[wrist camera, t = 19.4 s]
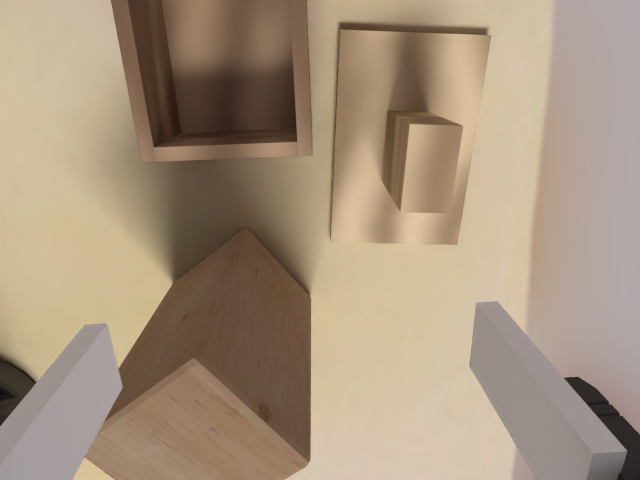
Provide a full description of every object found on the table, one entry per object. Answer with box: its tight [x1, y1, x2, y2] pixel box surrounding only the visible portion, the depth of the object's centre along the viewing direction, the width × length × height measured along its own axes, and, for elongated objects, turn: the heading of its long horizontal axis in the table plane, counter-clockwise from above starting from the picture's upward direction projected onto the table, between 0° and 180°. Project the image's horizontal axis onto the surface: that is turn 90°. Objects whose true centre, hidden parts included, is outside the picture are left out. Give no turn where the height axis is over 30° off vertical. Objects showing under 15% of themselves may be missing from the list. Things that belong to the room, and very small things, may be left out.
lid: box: [330, 30, 491, 245], centre depth 34 cm, size 12×18×10 cm, turn 178°
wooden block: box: [85, 228, 311, 480], centre depth 34 cm, size 10×10×20 cm
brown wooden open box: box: [111, 0, 312, 162], centre depth 29 cm, size 24×20×12 cm
